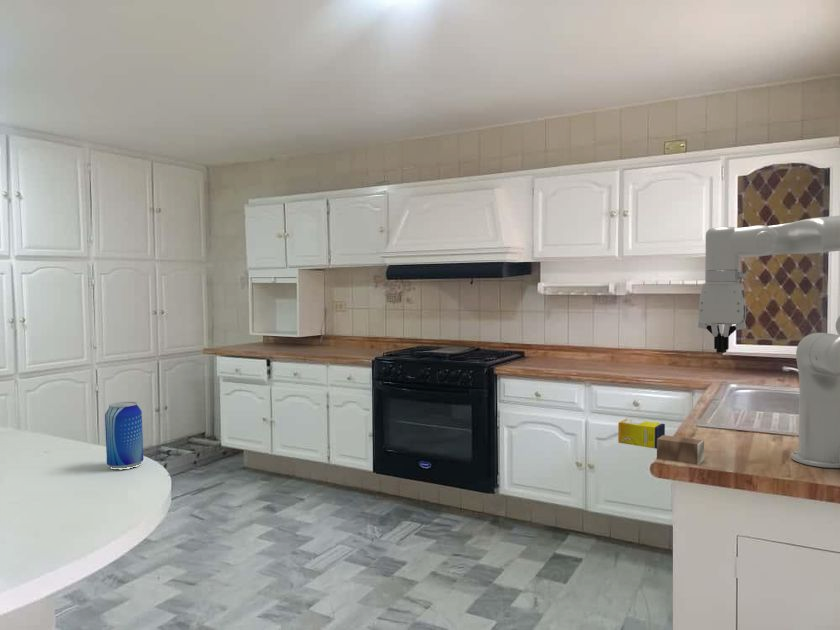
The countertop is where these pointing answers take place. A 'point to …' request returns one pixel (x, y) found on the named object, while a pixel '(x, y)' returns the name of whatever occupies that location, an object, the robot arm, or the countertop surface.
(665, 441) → the walnut block
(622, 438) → the supplement box
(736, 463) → the countertop surface
